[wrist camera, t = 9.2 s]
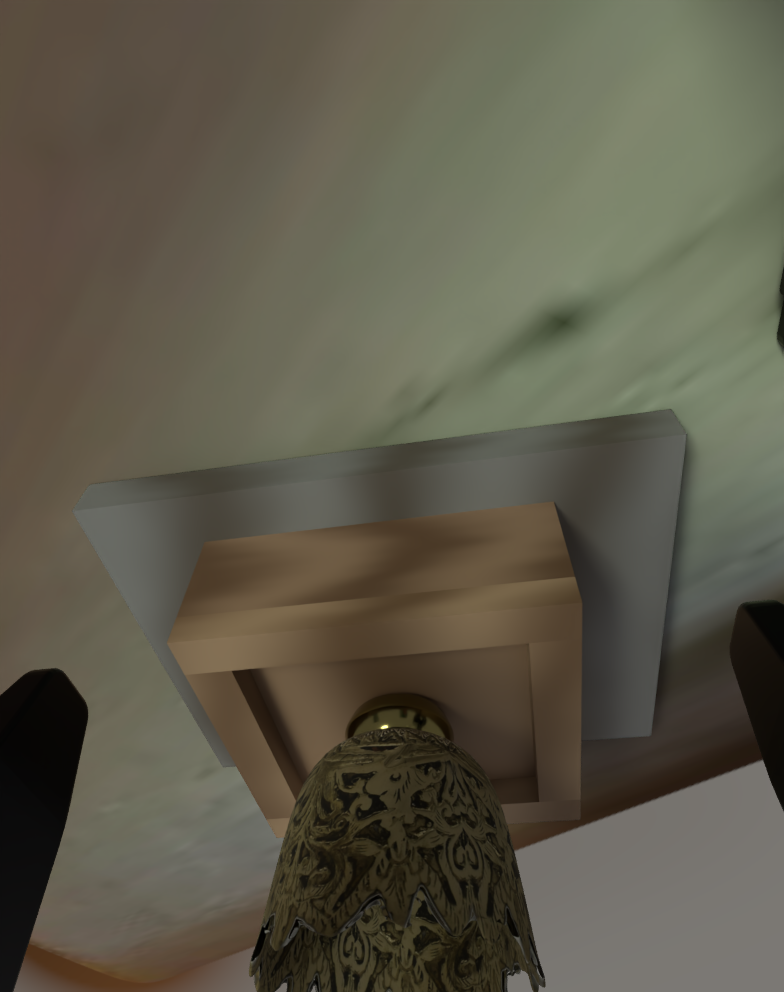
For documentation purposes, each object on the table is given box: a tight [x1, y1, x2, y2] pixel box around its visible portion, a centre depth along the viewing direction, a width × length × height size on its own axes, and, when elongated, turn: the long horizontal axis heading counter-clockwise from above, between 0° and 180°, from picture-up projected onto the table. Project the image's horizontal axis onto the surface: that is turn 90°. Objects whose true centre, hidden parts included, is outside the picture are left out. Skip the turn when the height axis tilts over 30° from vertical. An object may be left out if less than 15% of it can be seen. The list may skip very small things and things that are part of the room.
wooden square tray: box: [72, 409, 687, 838], centre depth 25 cm, size 20×16×6 cm
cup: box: [249, 693, 545, 992], centre depth 20 cm, size 8×7×8 cm
